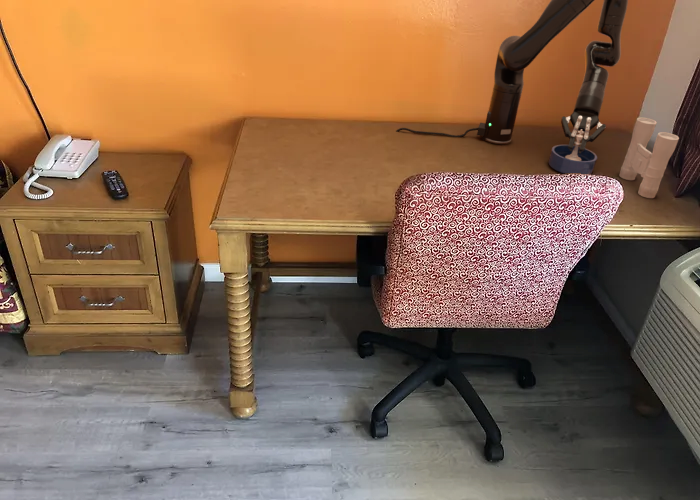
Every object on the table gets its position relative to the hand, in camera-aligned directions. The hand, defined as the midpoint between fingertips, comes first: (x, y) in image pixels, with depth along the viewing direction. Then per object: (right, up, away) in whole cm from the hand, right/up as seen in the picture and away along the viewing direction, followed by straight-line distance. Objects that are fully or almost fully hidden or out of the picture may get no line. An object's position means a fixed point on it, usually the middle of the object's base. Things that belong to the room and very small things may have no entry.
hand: (575, 150), depth 182 cm
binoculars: (+17, -11, -2) cm, 20 cm away
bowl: (0, -4, +5) cm, 7 cm away
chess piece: (0, -2, +4) cm, 5 cm away
